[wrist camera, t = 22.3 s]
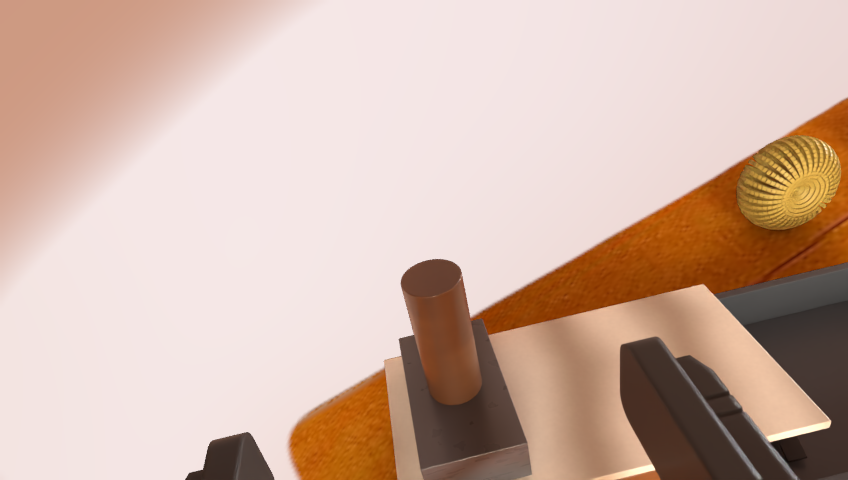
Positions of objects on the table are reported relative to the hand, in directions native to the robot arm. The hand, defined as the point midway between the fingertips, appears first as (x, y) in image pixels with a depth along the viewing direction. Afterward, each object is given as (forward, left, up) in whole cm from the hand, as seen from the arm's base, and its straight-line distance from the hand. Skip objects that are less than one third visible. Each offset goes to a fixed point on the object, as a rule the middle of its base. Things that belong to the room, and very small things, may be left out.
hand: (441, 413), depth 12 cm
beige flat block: (+2, +14, -21) cm, 26 cm away
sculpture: (+19, +38, -21) cm, 48 cm away
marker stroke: (+13, +16, -20) cm, 28 cm away
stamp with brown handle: (-4, +12, -15) cm, 20 cm away
